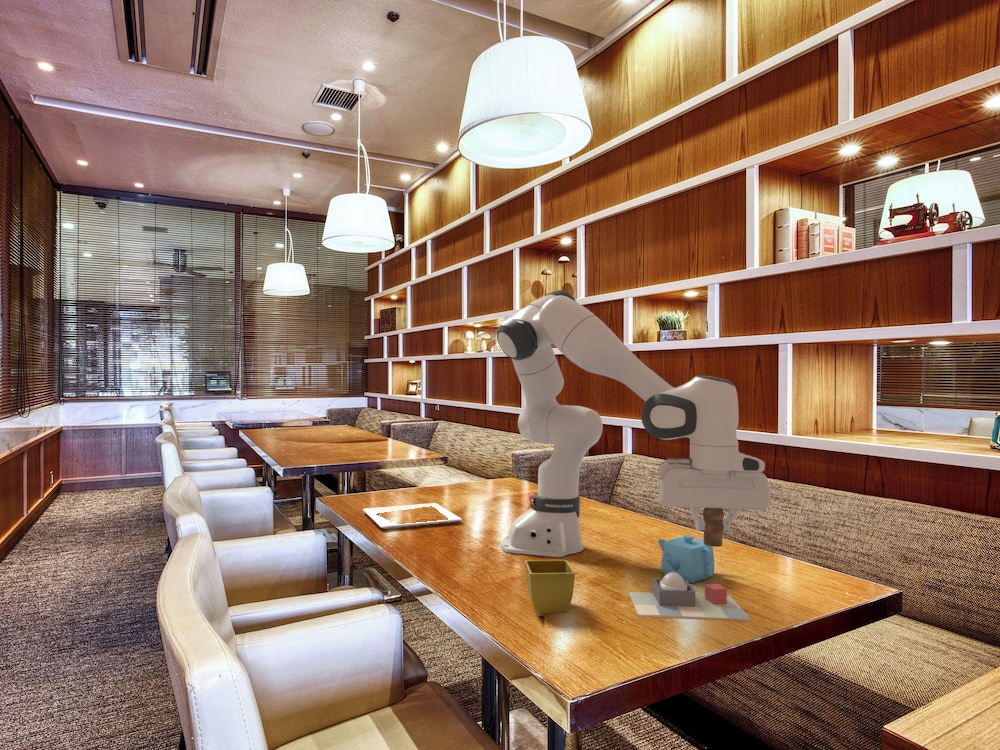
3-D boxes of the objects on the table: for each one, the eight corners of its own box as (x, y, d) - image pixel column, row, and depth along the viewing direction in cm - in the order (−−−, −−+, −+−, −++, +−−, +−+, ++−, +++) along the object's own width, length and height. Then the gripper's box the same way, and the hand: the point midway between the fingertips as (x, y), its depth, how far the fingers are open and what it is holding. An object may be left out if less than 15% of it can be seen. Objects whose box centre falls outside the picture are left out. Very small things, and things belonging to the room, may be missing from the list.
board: (638, 621, 110) (639, 600, 110) (628, 596, 123) (628, 577, 123) (753, 626, 108) (753, 605, 108) (730, 600, 121) (730, 581, 121)
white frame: (362, 514, 196) (362, 508, 196) (435, 508, 207) (435, 502, 207) (380, 533, 172) (380, 526, 172) (462, 525, 183) (462, 518, 183)
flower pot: (523, 603, 118) (524, 559, 118) (566, 603, 118) (566, 559, 119) (529, 621, 109) (530, 573, 109) (575, 620, 110) (575, 573, 110)
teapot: (690, 596, 123) (691, 548, 123) (636, 578, 134) (637, 534, 134) (733, 579, 135) (734, 535, 135) (680, 564, 146) (681, 523, 146)
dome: (662, 602, 116) (662, 576, 116) (657, 593, 121) (657, 568, 121) (690, 603, 116) (690, 577, 116) (683, 594, 121) (683, 569, 121)
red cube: (713, 604, 116) (713, 589, 116) (705, 599, 119) (705, 584, 119) (726, 603, 117) (726, 588, 117) (718, 598, 120) (718, 583, 120)
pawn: (704, 546, 110) (704, 505, 110) (701, 540, 114) (701, 501, 114) (725, 547, 110) (725, 507, 110) (721, 541, 114) (721, 502, 114)
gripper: (662, 460, 110) (661, 533, 110) (773, 462, 108) (772, 536, 108) (656, 455, 116) (655, 524, 116) (760, 458, 115) (760, 528, 115)
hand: (712, 530), depth 112 cm, fingers closed on pawn, 3 cm apart
